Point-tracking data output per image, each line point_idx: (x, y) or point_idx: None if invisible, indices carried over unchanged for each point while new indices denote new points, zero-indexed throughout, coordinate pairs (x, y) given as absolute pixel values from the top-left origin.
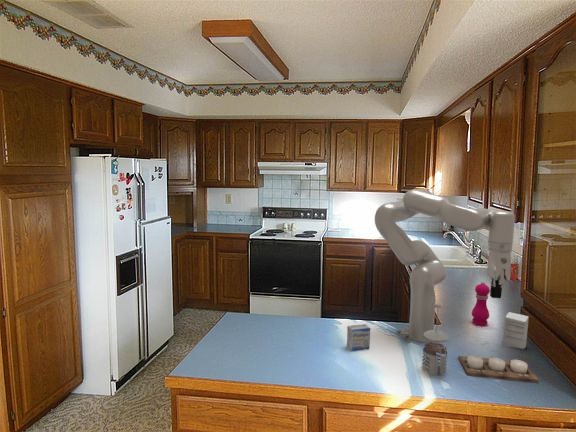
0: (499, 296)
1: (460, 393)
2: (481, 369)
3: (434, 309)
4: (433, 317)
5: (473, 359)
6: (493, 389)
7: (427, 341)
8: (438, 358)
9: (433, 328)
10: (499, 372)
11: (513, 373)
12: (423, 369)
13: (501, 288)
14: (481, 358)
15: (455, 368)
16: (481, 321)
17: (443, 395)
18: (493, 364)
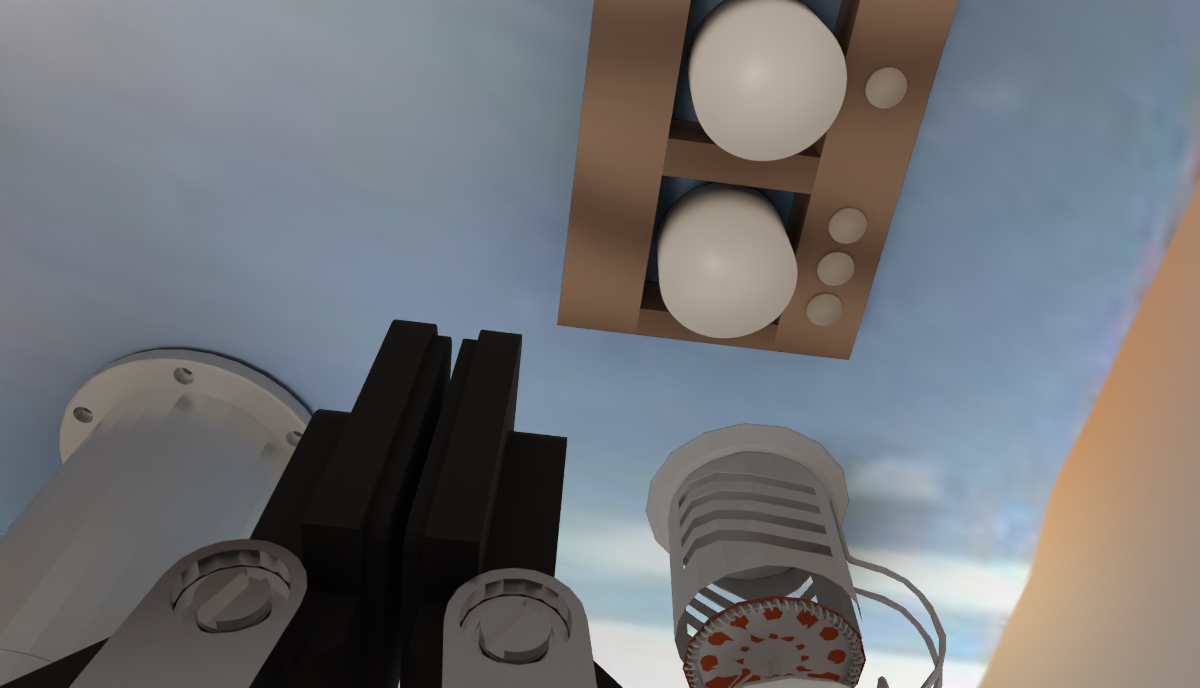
0: (516, 388)
1: (1011, 426)
2: (803, 228)
3: (86, 632)
4: (146, 570)
5: (739, 297)
6: (994, 186)
7: (281, 457)
8: (690, 523)
9: (176, 471)
10: (875, 95)
11: None
12: (763, 589)
13: (480, 520)
14: (717, 219)
15: (667, 348)
16: None
17: (1017, 524)
18: (811, 138)
